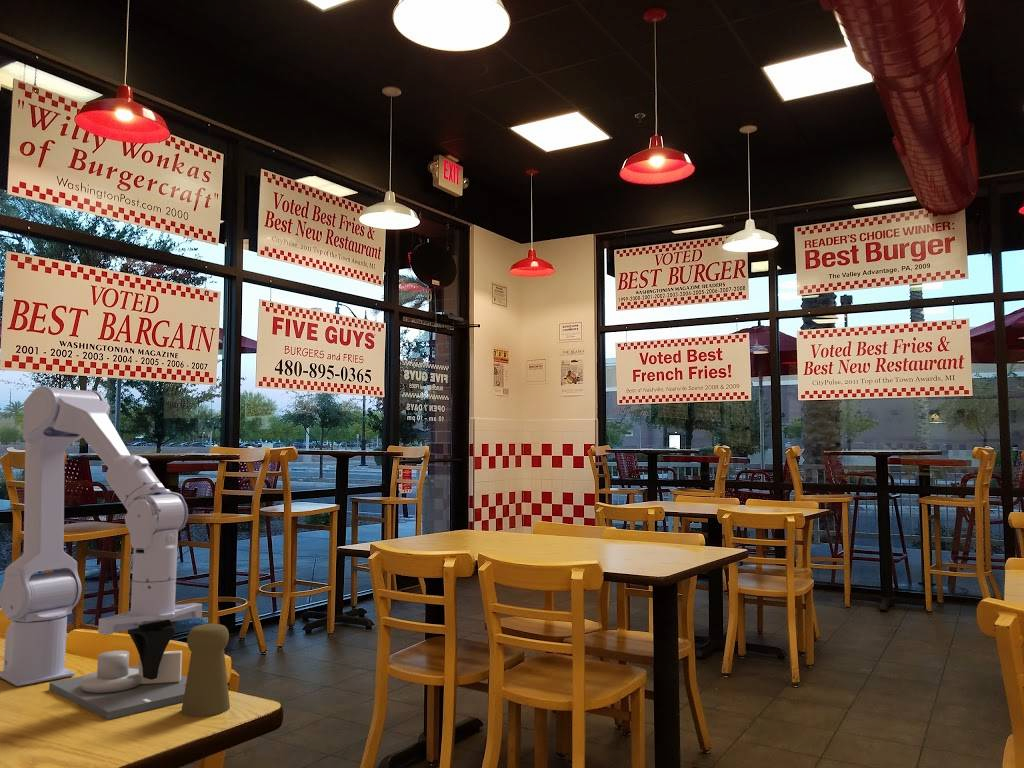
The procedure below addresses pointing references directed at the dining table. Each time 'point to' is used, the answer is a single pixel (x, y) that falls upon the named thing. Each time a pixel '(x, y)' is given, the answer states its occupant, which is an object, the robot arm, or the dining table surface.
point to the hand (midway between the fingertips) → (150, 678)
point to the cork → (206, 672)
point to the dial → (129, 672)
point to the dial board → (122, 696)
